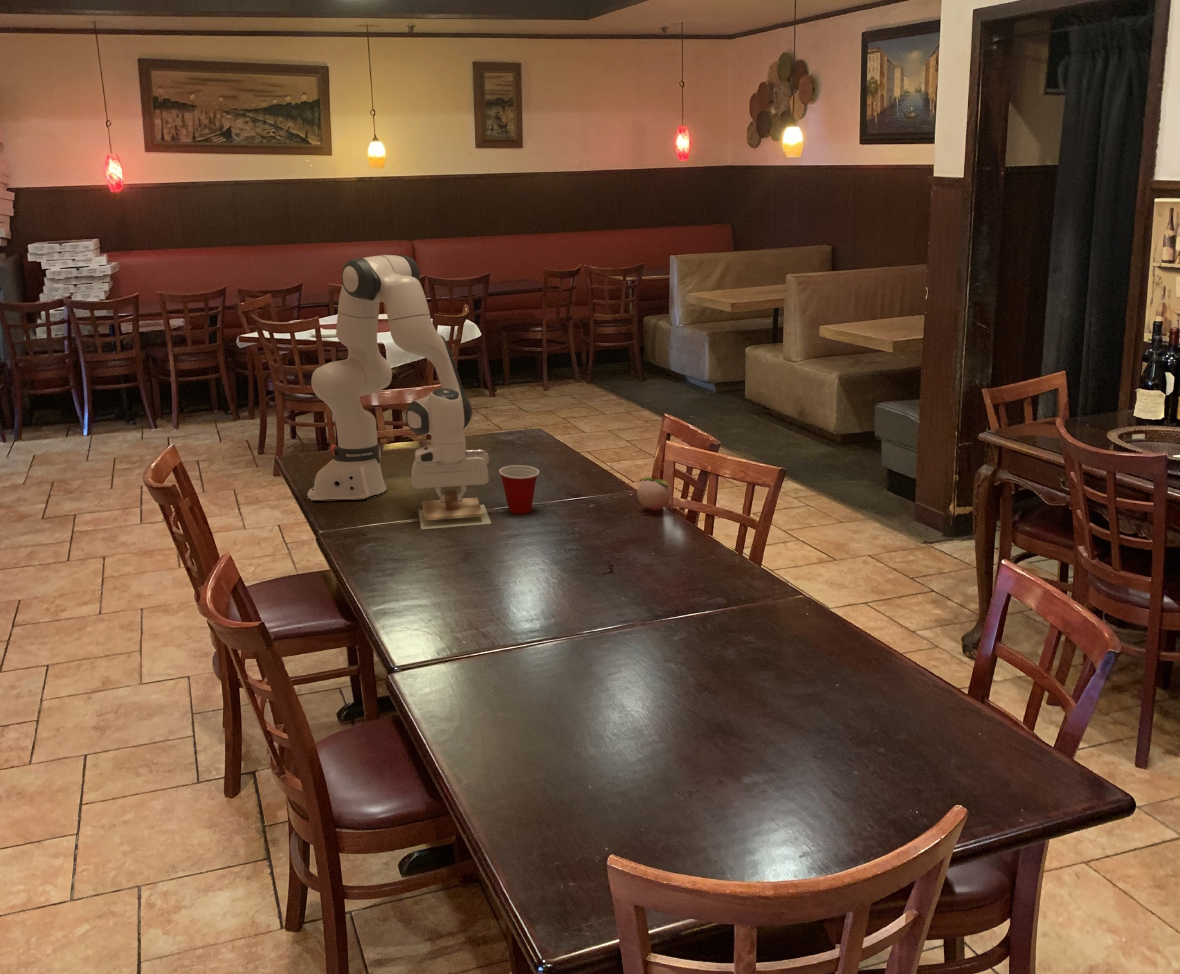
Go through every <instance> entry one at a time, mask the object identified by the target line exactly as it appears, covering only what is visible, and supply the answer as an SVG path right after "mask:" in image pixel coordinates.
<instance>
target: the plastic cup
mask: <svg viewBox="0 0 1180 974" xmlns="http://www.w3.org/2000/svg"><path fill="white" fill-rule="evenodd" d="M498 474H500V478H501V482H502V485H503V490H504V495H505V500H506V502H507V507H508V511H509V513H510V514H513V515H525V514H528V513H531V511H532V509H533V501H534V495H535V488H536V482H537V479H538V476H539V474H540V470H539V468H536V467H534V466H530V465H522V464H521V465H520V464H517V465H516V464H514V465H507V466H503V467H501V468H499V471H498Z"/></svg>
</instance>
